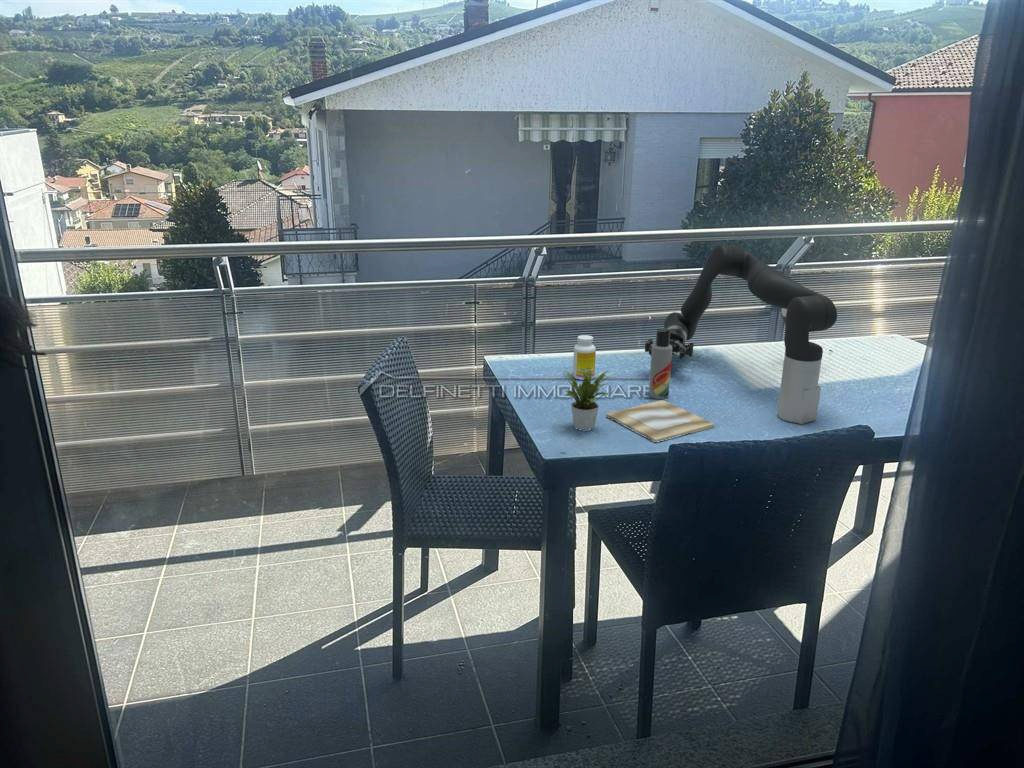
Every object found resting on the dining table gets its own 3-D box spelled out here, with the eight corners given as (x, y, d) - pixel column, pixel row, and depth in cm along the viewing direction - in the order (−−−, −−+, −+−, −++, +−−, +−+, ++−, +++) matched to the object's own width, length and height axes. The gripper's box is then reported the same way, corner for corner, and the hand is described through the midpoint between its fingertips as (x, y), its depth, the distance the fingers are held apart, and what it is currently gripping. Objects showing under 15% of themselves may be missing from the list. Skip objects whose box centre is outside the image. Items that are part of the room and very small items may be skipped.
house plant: (623, 436, 200) (627, 375, 194) (572, 442, 196) (574, 380, 190) (602, 416, 212) (604, 358, 207) (553, 421, 209) (555, 362, 203)
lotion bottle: (668, 400, 224) (673, 332, 217) (648, 398, 225) (652, 331, 218) (668, 393, 229) (674, 327, 222) (648, 391, 230) (653, 325, 223)
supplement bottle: (598, 379, 240) (600, 339, 236) (579, 382, 238) (580, 341, 233) (588, 372, 246) (589, 333, 242) (569, 375, 244) (570, 335, 239)
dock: (714, 427, 206) (714, 423, 205) (655, 443, 196) (656, 439, 195) (662, 403, 222) (662, 399, 221) (605, 417, 212) (606, 413, 211)
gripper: (651, 326, 248) (642, 339, 234) (697, 330, 244) (691, 344, 230) (650, 348, 251) (641, 363, 236) (695, 353, 247) (689, 369, 232)
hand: (666, 354), depth 233 cm, fingers open, 8 cm apart
